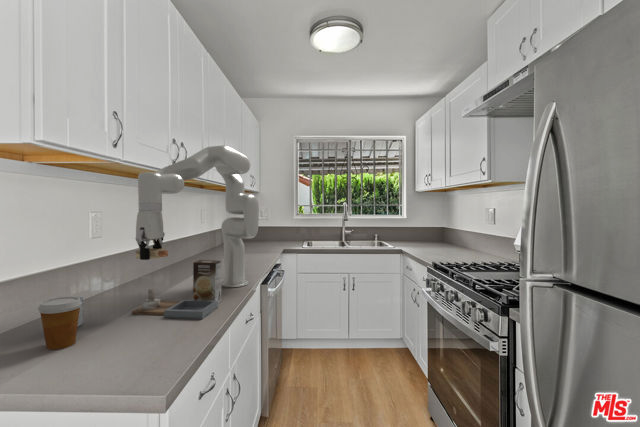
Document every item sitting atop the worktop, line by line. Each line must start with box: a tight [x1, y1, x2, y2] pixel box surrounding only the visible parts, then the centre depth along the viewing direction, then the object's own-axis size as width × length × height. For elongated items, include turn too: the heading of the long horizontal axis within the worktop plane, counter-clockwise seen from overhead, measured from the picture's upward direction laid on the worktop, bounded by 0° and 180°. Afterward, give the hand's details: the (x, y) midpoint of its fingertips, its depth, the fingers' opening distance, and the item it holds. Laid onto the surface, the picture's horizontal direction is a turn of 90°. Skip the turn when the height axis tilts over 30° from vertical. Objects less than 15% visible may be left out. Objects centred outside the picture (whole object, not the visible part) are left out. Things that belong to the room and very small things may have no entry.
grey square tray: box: [164, 299, 219, 320], centre depth 124 cm, size 13×13×2 cm
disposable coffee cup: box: [37, 296, 82, 351], centre depth 95 cm, size 10×10×12 cm
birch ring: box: [135, 248, 169, 260], centre depth 125 cm, size 7×9×2 cm
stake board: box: [131, 288, 182, 316], centre depth 128 cm, size 14×12×8 cm
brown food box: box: [192, 259, 222, 304], centre depth 136 cm, size 9×6×16 cm
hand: (151, 257), depth 125 cm, fingers closed on birch ring, 7 cm apart
